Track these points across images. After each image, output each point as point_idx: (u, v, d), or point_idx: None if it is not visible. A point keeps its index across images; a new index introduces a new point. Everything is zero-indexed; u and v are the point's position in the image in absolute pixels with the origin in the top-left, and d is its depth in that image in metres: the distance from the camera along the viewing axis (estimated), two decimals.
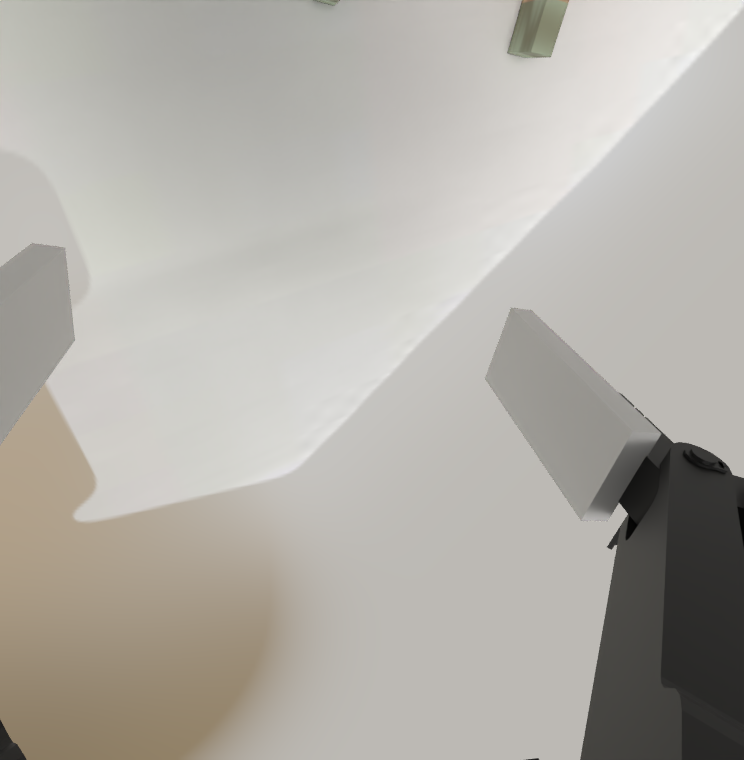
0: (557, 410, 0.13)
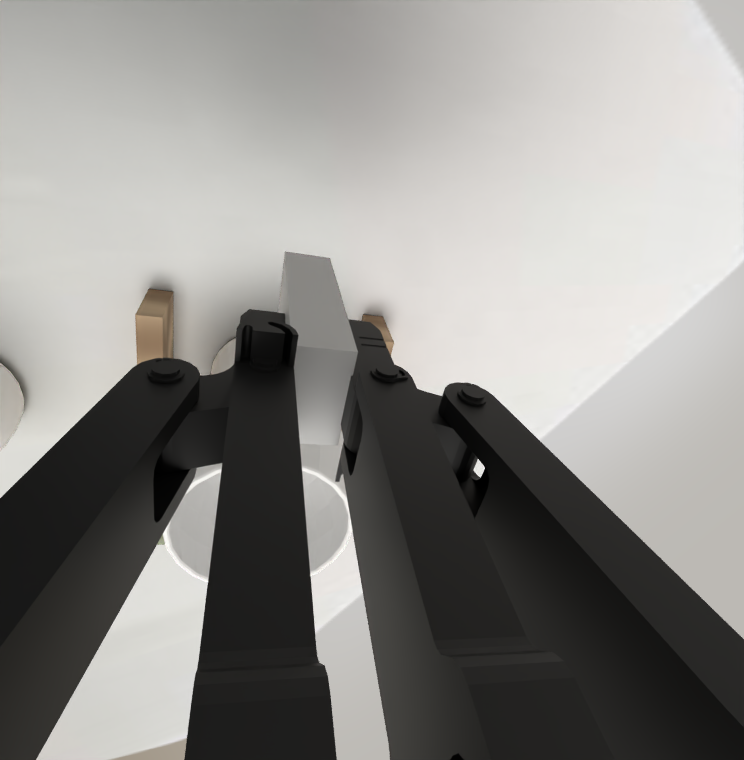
0: None
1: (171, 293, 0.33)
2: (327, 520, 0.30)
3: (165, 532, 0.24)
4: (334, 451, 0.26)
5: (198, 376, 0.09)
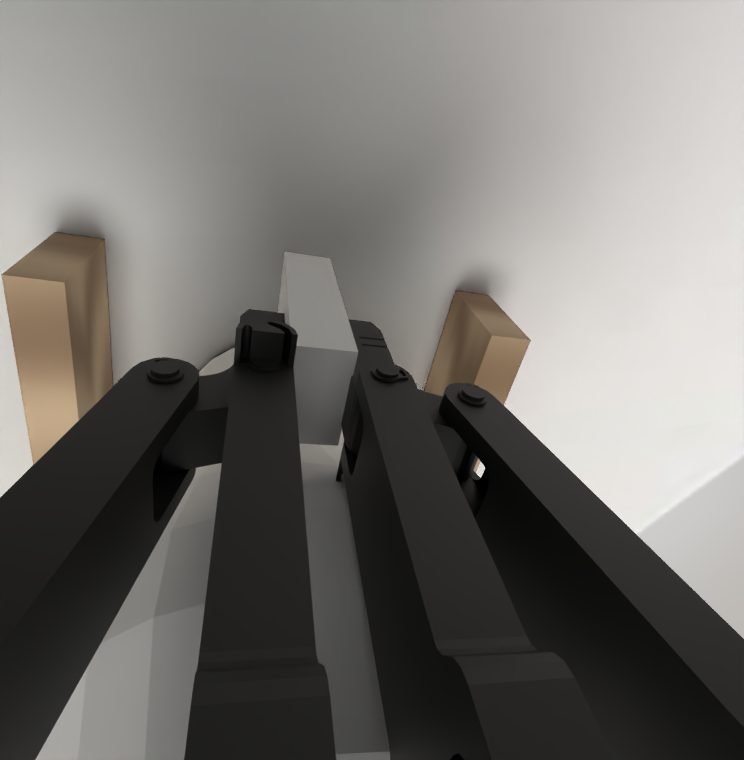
0: None
1: (99, 240, 0.17)
2: None
3: None
4: None
5: (197, 376, 0.09)
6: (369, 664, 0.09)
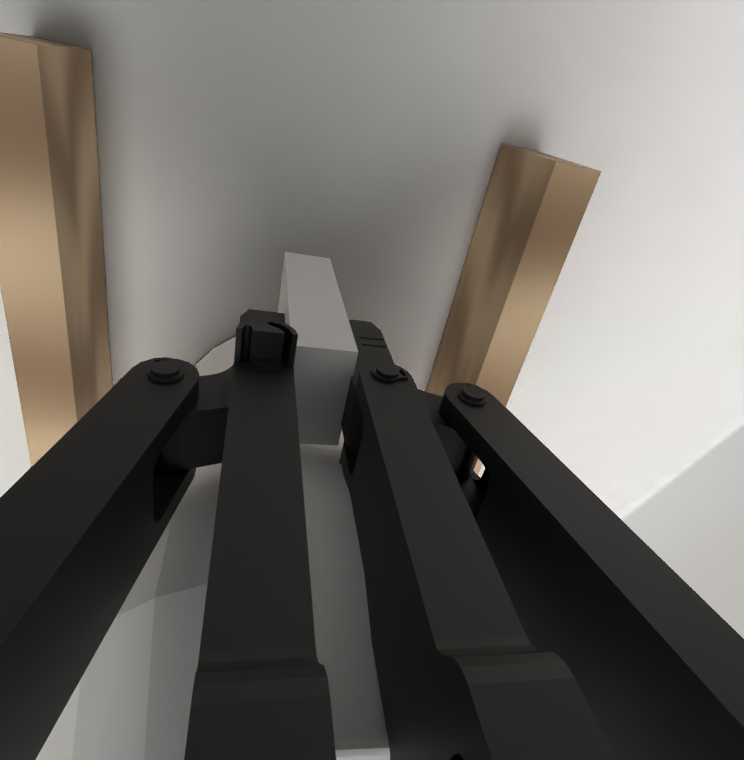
0: None
1: None
2: None
3: None
4: None
5: (197, 376, 0.09)
6: None
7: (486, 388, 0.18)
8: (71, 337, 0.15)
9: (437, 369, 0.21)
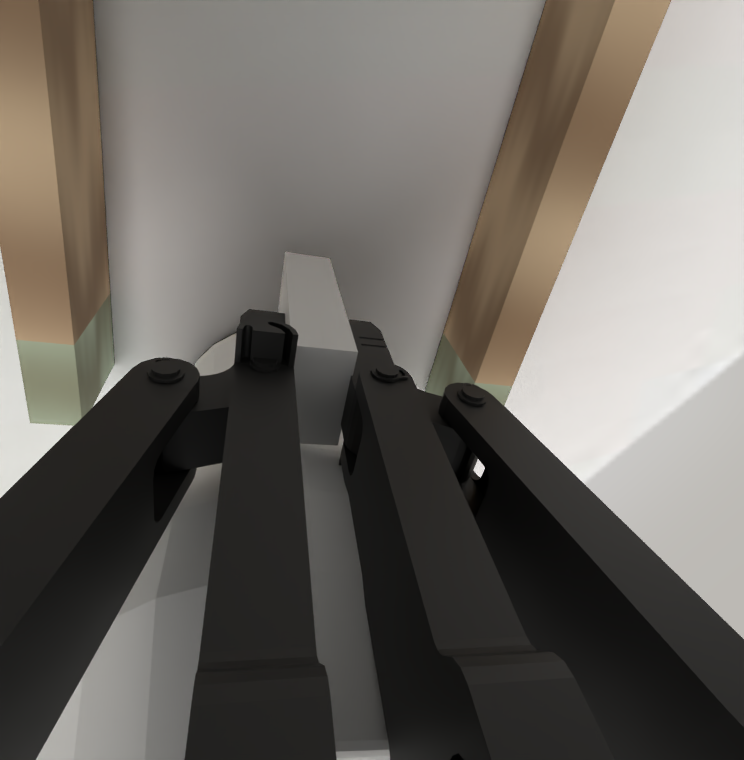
0: None
1: None
2: None
3: None
4: None
5: (198, 376, 0.09)
6: None
7: (597, 92, 0.13)
8: None
9: (513, 127, 0.17)
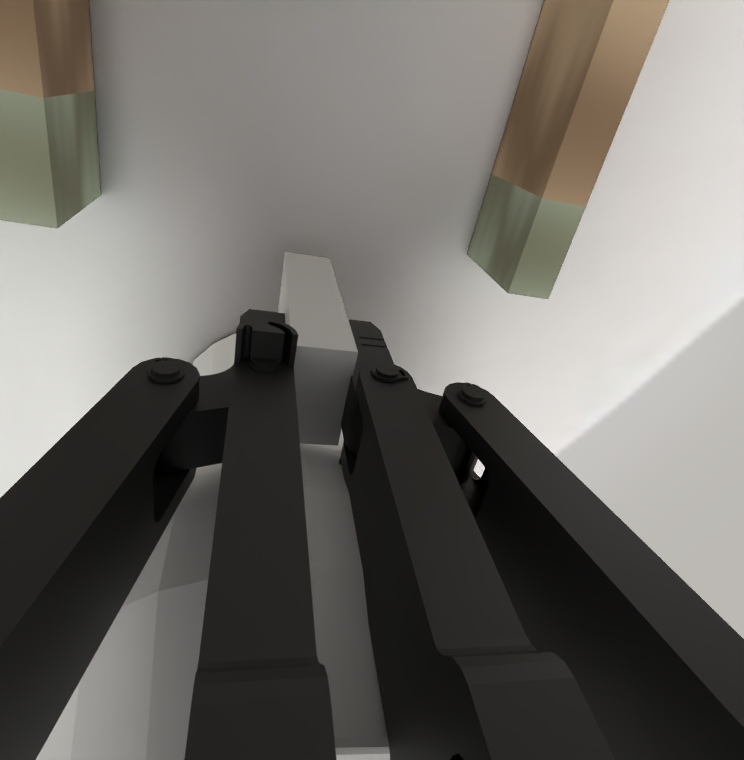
0: None
1: None
2: None
3: None
4: None
5: (198, 376, 0.09)
6: None
7: None
8: None
9: None
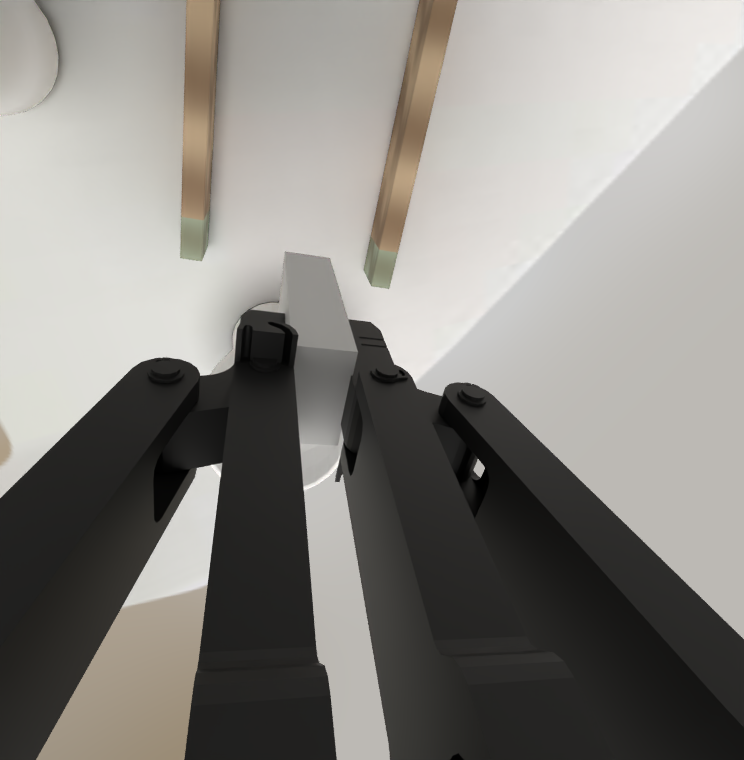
0: None
1: None
2: (324, 450, 0.38)
3: None
4: None
5: (198, 376, 0.09)
6: None
7: (415, 117, 0.34)
8: (211, 63, 0.31)
9: (393, 131, 0.38)
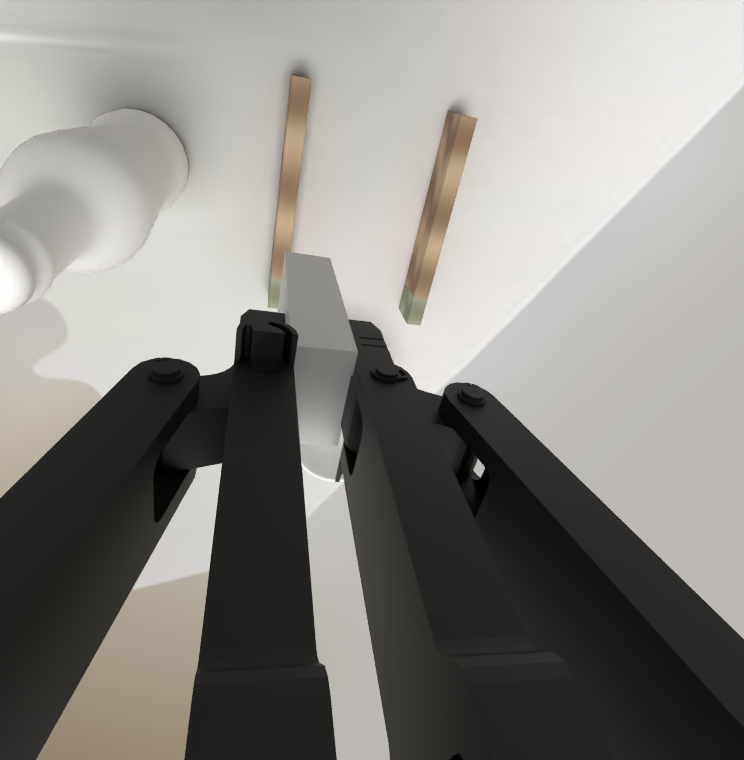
0: None
1: (307, 78, 0.43)
2: None
3: None
4: None
5: (198, 376, 0.09)
6: None
7: (442, 205, 0.47)
8: None
9: (425, 210, 0.50)
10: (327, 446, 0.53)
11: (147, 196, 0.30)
